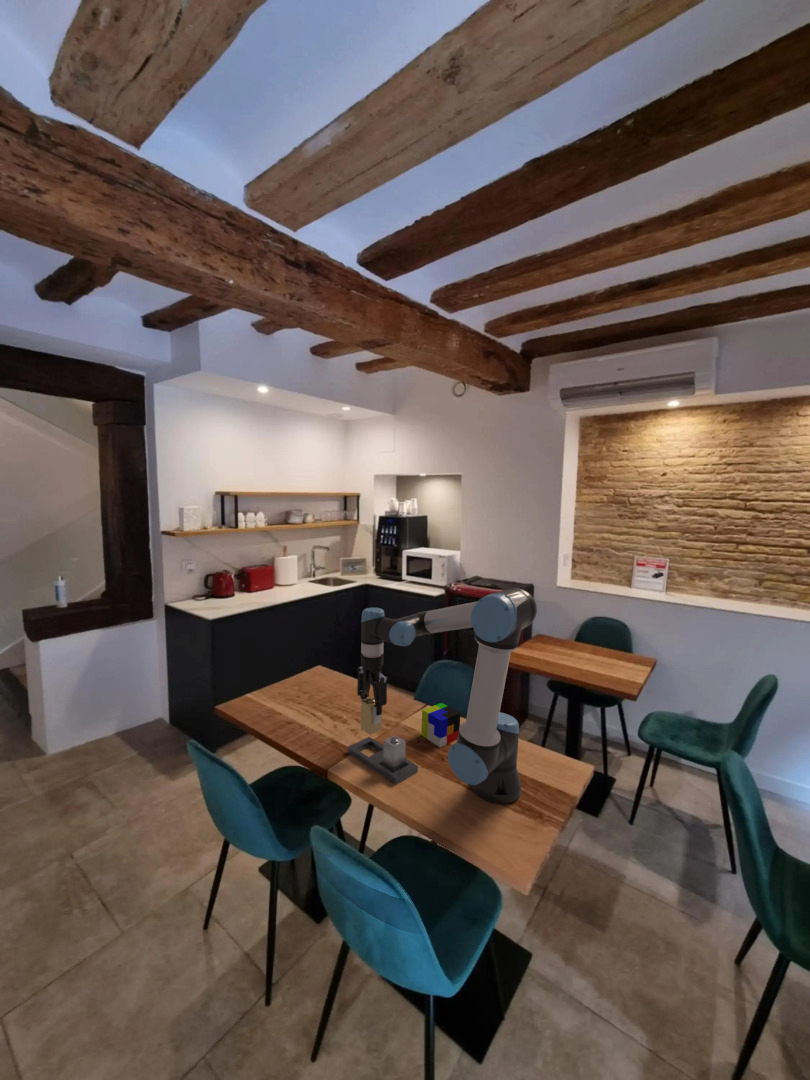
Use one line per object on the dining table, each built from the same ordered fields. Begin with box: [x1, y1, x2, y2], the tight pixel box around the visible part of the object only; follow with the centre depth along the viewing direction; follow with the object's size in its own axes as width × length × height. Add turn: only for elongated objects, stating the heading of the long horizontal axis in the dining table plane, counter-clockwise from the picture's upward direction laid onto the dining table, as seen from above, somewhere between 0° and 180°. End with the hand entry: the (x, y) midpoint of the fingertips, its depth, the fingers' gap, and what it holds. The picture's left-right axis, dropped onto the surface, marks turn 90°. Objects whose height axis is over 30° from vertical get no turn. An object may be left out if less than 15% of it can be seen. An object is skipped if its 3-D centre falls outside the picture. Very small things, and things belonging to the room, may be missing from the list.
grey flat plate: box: [346, 736, 419, 786], centre depth 152 cm, size 24×10×2 cm, turn 45°
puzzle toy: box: [420, 702, 461, 748], centre depth 169 cm, size 10×10×10 cm
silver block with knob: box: [383, 734, 407, 773], centre depth 147 cm, size 5×5×10 cm
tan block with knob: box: [360, 696, 383, 735], centre depth 155 cm, size 5×5×10 cm
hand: (371, 720), depth 155 cm, fingers closed on tan block with knob, 5 cm apart
